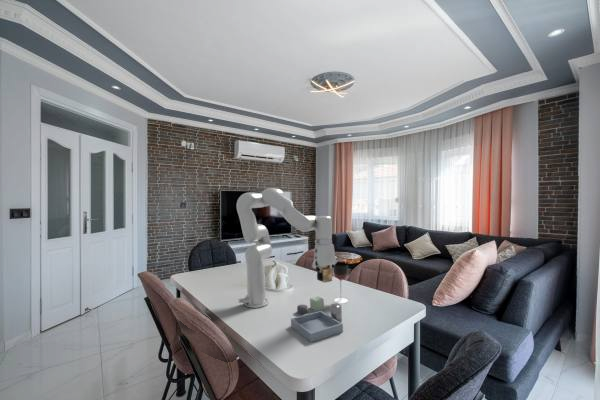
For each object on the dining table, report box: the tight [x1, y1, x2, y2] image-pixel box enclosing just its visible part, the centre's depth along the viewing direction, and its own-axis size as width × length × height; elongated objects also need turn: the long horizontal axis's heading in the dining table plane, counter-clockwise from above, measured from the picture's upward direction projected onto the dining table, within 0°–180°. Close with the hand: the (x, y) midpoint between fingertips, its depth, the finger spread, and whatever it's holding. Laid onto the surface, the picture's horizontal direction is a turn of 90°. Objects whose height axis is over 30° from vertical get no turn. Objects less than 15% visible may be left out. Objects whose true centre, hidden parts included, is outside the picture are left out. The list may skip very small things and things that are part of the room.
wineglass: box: [332, 261, 349, 304], centre depth 149 cm, size 8×9×20 cm
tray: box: [290, 310, 344, 343], centre depth 117 cm, size 16×16×3 cm
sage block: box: [309, 295, 325, 312], centre depth 139 cm, size 5×5×5 cm
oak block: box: [316, 266, 333, 284], centre depth 131 cm, size 4×6×6 cm
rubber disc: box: [296, 304, 309, 316], centre depth 134 cm, size 5×5×3 cm
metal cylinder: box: [329, 303, 343, 323], centre depth 124 cm, size 5×5×7 cm
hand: (324, 278), depth 131 cm, fingers closed on oak block, 4 cm apart
